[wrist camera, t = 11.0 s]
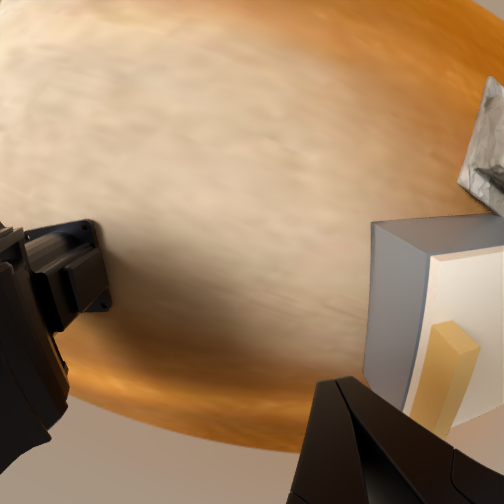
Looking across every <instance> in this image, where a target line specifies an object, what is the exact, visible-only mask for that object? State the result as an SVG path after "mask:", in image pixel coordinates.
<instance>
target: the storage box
mask: <svg viewBox="0 0 504 504" xmlns="http://www.w3.org/2000/svg"><path fill="white" fill-rule="evenodd" d="M503 245H504V218H503V217H500V216H497V215H493V214H490V213H488V214H472V215H457V216H443V217H429V218H416V219H403V220H390V221H378V222H371V268H370V294H369V311H368V325H367V337H366V348H365V357H364V366H363V374H364V376H365V378H366V380H367V382H368V384H369V386H370V388H371V390H372V391H373V392H375V393H376V394H378V395H379V396H380V397H382V398H383V399H385V400H386V401H387V402H389V403H390V404H392V405H393V406H394V407H396V408H397V409H399V410H400V411H402V412H403V409H404V406H405V402H406V399H407V395H408V391H409V387H410V383H411V379H412V375H413V370H414V366H415V361H416V357H417V352H418V347H419V341H420V336H421V330H422V324H423V318H424V312H425V304H426V297H427V289H428V280H429V270H430V258H431V256H434V255H441V254H449V253H456V252H463V251H470V250H477V249H483V248H490V247H497V246H503Z"/></svg>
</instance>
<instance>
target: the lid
mask: <svg viewBox="0 0 504 504" xmlns="http://www.w3.org/2000/svg"><path fill="white" fill-rule="evenodd" d="M503 404H504V245H503V246H497V247H490V248H483V249H477V250H470V251H463V252H456V253H449V254H441V255H434V256H431V258H430V270H429V280H428V289H427V297H426V304H425V312H424V318H423V324H422V330H421V336H420V341H419V347H418V352H417V357H416V361H415V366H414V370H413V375H412V379H411V383H410V387H409V391H408V395H407V399H406V402H405V406H404V409H403V413H404V414H406V415H407V416H409V417H410V418H412V419H413V420H415V421H416V422H417V423H419V424H420V425H422V426H423V427H425V428H426V429H428V430H429V431H431V432H432V433H434V434H435V435H437V436H438V437H440V438H441V439H442V440H445V439H446V437H447V435H448V433H449V430H450V429H451V428H453V427H456V426H458V425H460V424H463V423H465V422H468V421H470V420H472V419H474V418H476V417H479V416H481V415H483V414H485V413H487V412H489V411H491V410H493V409H495V408H497V407H499V406H501V405H503Z"/></svg>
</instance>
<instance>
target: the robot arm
mask: <svg viewBox="0 0 504 504" xmlns="http://www.w3.org/2000/svg"><path fill="white" fill-rule="evenodd" d="M85 224H87V225H88V230H86V229H85ZM28 235H29V237H30V239H29V238H28ZM108 285H109V283H108V279H107V275H106V271H105V267H104V262H103V258H102V253H101V250H100V249H99V248H98V243H97V238H96V233H95V228H94V224H93V222H92V221H91V220H90V219H83V220H77V221H72V222H66V223H61V224H56V225H51V226H46V227H41V228H36V229H31V230H27V231H25V232H24V231H23V227H21V228H16V229H13V227H8V228H7V227H5V226H4V225H3V224H2V223H1V222H0V474H1V473H2V472H3V471H4V470H5V469H6V468H7V467H8V466H9V465H10V464H11V463H12V462H13V461H14V460H16V459H17V458H18V457H19V456H20V455H21V454H23V453H25V452H27V451H28V450H30V449H32V448H33V447H36V446H38V445H41V444H44V443H47V442H49V441H50V440H51V439H52V438H51V436H50V434H49V433H48V430H50V429H51V427H53V426H54V425H55V424H56V423H57V422H58V421H59V420H60V419H61V418H62V416H63V415H64V413H65V412H66V410H67V408H68V404H67V402H66V400H67V396H68V392H69V387H70V386H69V382H68V378H67V374H68V367H67V365H66V363H65V361H63V359H62V357H61V355H60V352H59V350H58V348H57V345H56V343H55V340H54V338H53V337H54V336H55V335H56V334H57V333H58V332H63V331H64V330H65V329H66V328H67V327H68V326H69V325H70V323H71V322H72V321H73V320H74V319H75V318H76V317H77V316H78V315H79V314H80V313H83V312H106V311H108V310H110V308H111V307H112V301H111V297H110V293H109V290H108ZM103 302H105V303H106V304H107V306H105V305H104V304H103ZM286 504H504V475H501V474H500V473H497V472H495V471H493V470H491V469H489V468H487V467H486V466H484V465H482V464H480V463H478V462H477V461H475V460H474V459H472V458H470V457H469V456H467V455H465V454H464V453H462V452H461V451H459V450H458V449H454V447H453V446H451V445H450V444H448V443H447V442H445V441H444V440H442V439H441V438H440V437H438V436H437V435H435V434H434V433H432V432H431V431H429V430H428V429H426V428H425V427H423V426H422V425H420V424H419V423H417V422H416V421H415V420H413V419H412V418H410V417H409V416H407V415H406V414H404V413H403V412H402V411H400V410H399V409H397V408H396V407H394V406H393V405H392V404H390V403H389V402H387V401H386V400H385V399H383V398H382V397H380V396H379V395H378V394H376V393H375V392H373V391H372V390H371V389H369V388H368V387H366V386H365V385H364V384H362V383H361V382H360V381H358V380H357V379H355V378H354V377H353V376H345V377H339V378H336V379H335V380H334V379H326V380H320V381H318V382H317V384H316V388H315V393H314V398H313V403H312V407H311V412H310V416H309V420H308V425H307V429H306V433H305V437H304V441H303V445H302V449H301V453H300V457H299V461H298V465H297V468H296V472H295V475H294V479H293V482H292V486H291V489H290V493H289V495H288V499H287V502H286Z"/></svg>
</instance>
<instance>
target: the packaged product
mask: <svg viewBox="0 0 504 504" xmlns="http://www.w3.org/2000/svg"><path fill="white" fill-rule="evenodd" d="M457 182H458V184H459V185H460V186H461V187H463V188H464V189H465V190H467V191H468V192H469V193H470V194H472V195H473V196H474V197H476V198H477V199H479V200H480V201H481V202H482V203H483V204H484V205H485V206H486V207H488V208H489V209H490V210H491V211H492V212H493V213H494V214H495V215H497V216H500V217H503V218H504V88H503V87H502V86H501V85H500V84H499V83H498V82H497V81H496V80H495V79H494V78H493V77H492V76H489V77H488V78H487V79H486V83H485V87H484V92H483V96H482V100H481V104H480V108H479V112H478V115H477V119H476V122H475V126H474V130H473V134H472V137H471V140H470V143H469V147H468V150H467V153H466V156H465V159H464V162H463V165H462V168H461V171H460V174H459V177H458V180H457Z"/></svg>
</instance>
